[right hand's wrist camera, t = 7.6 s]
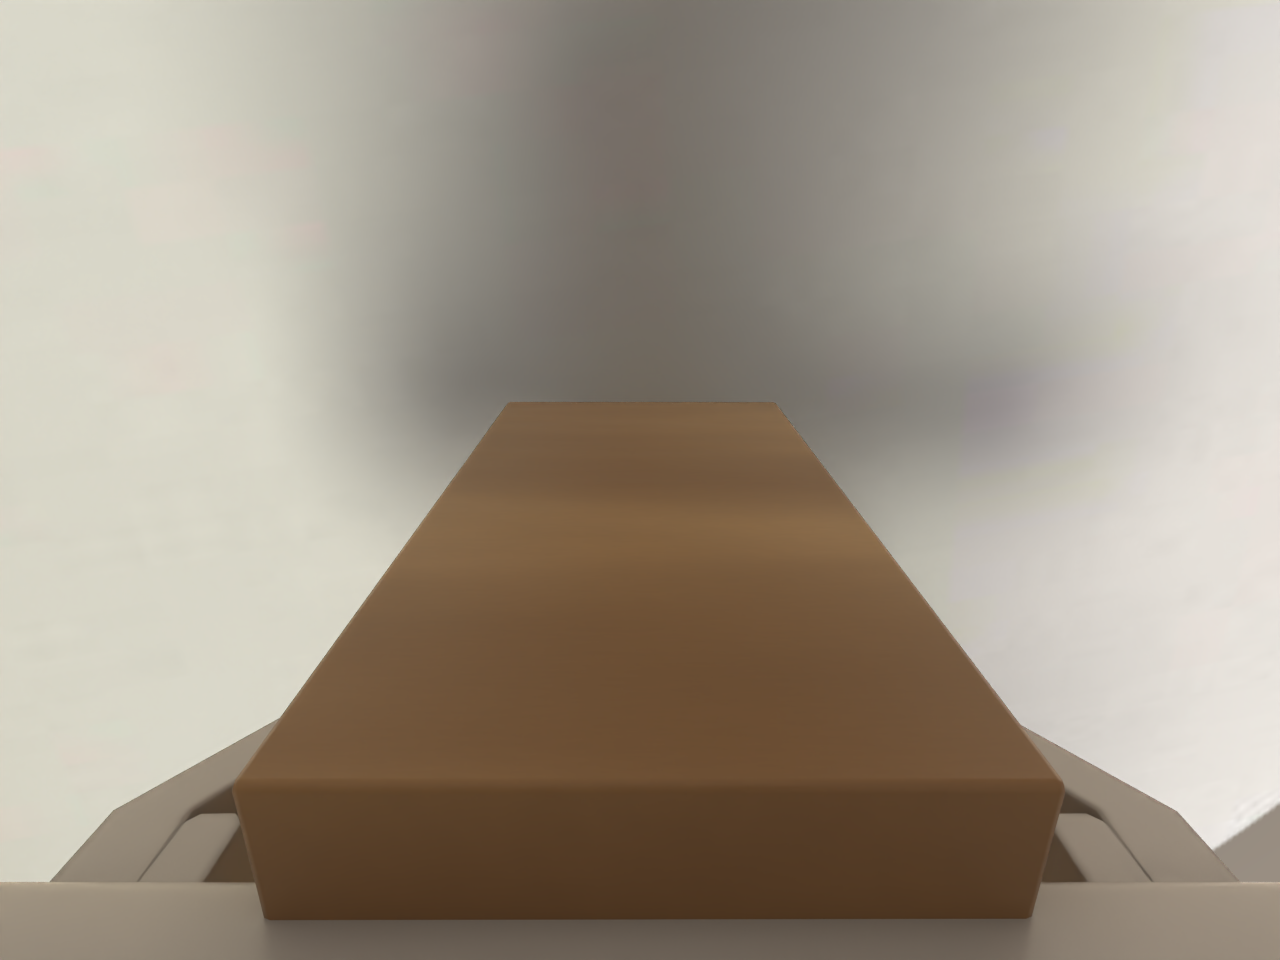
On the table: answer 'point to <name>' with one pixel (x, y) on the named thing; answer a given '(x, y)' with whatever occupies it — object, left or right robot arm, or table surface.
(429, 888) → the box
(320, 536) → the table surface
